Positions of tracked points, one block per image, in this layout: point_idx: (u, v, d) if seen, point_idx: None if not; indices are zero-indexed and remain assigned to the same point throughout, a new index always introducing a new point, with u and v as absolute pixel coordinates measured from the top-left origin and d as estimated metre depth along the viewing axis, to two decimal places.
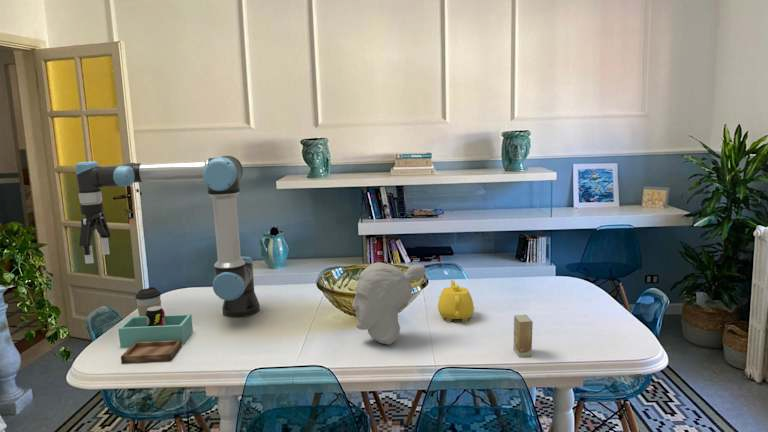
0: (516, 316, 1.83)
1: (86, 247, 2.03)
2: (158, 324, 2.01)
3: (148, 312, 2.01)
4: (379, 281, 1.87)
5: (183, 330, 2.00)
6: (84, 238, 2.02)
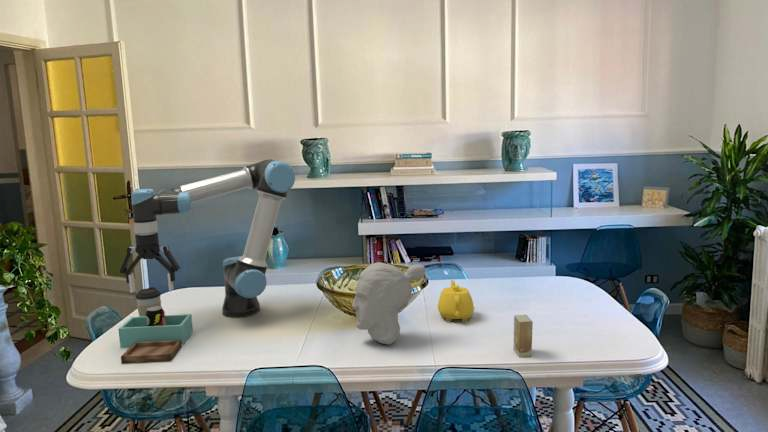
0: (516, 316, 1.83)
1: None
2: (158, 324, 2.01)
3: (148, 312, 2.01)
4: (379, 281, 1.87)
5: (183, 330, 2.00)
6: None
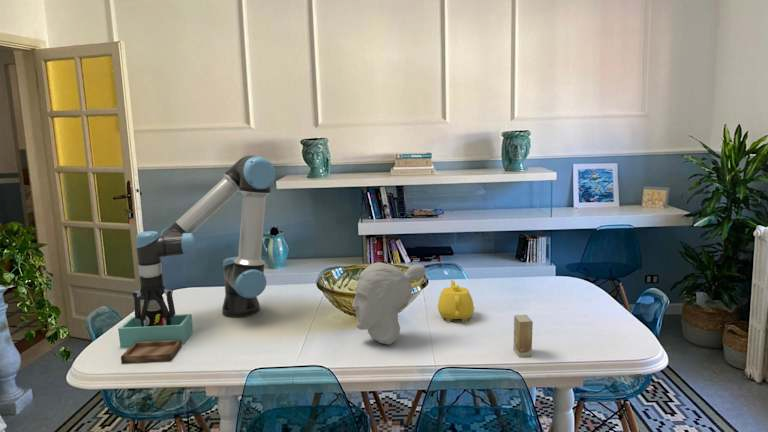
0: (516, 316, 1.83)
1: None
2: (158, 324, 2.01)
3: (148, 312, 2.01)
4: (379, 281, 1.87)
5: (183, 330, 2.00)
6: None
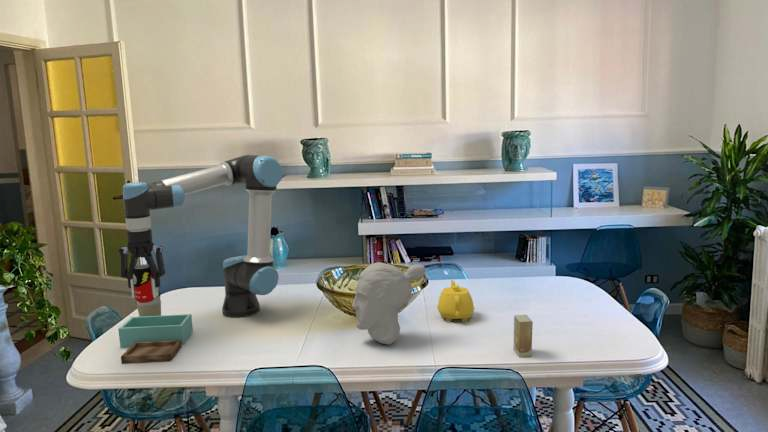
0: (516, 316, 1.83)
1: None
2: (146, 283, 1.85)
3: (135, 270, 1.85)
4: (379, 281, 1.87)
5: (183, 330, 2.00)
6: None
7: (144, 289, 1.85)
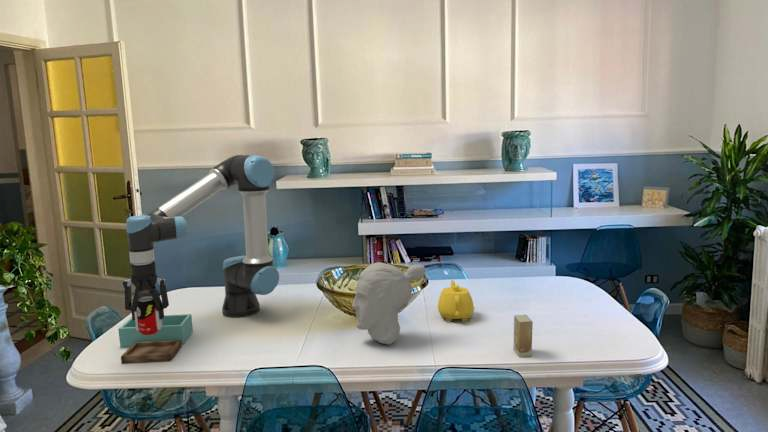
0: (516, 316, 1.83)
1: None
2: (150, 316, 1.86)
3: (139, 303, 1.86)
4: (379, 281, 1.87)
5: (183, 330, 2.00)
6: None
7: (148, 321, 1.86)
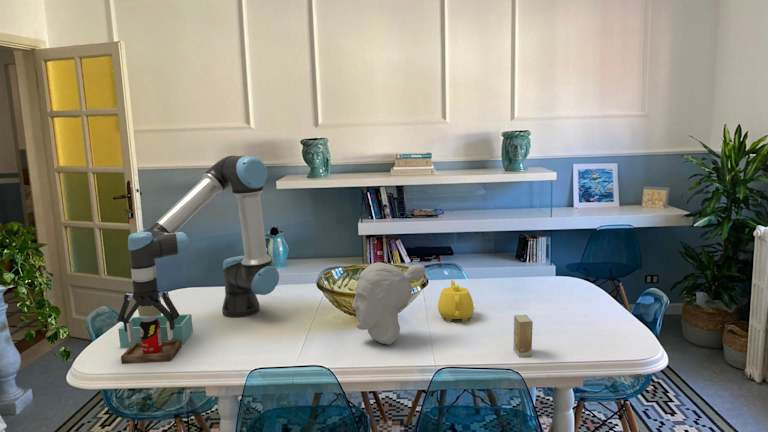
0: (516, 316, 1.83)
1: None
2: (153, 336, 1.88)
3: (142, 323, 1.87)
4: (379, 281, 1.87)
5: (183, 330, 2.00)
6: None
7: (151, 341, 1.88)
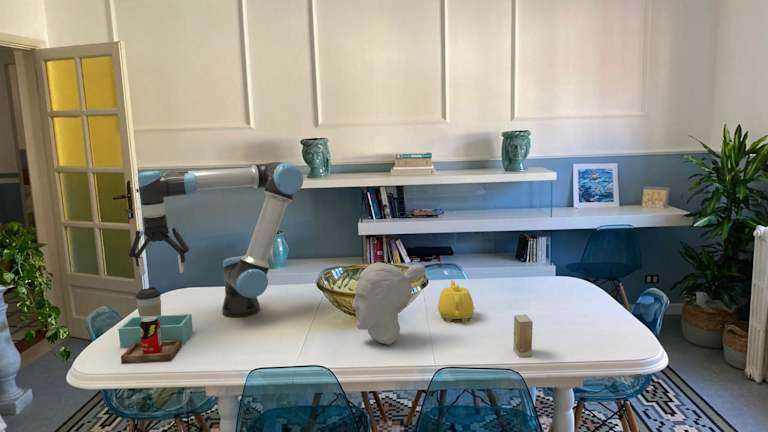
0: (516, 316, 1.83)
1: None
2: (153, 336, 1.88)
3: (142, 323, 1.87)
4: (379, 281, 1.87)
5: (183, 330, 2.00)
6: None
7: (151, 341, 1.88)
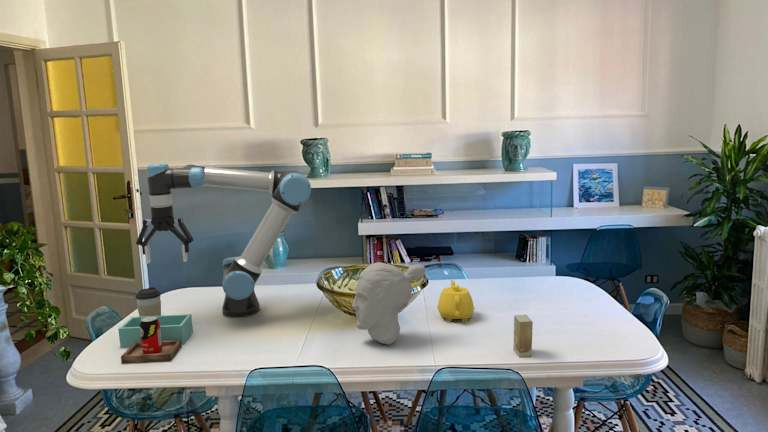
0: (516, 316, 1.83)
1: None
2: (153, 336, 1.88)
3: (142, 323, 1.87)
4: (379, 281, 1.87)
5: (183, 330, 2.00)
6: None
7: (151, 341, 1.88)
